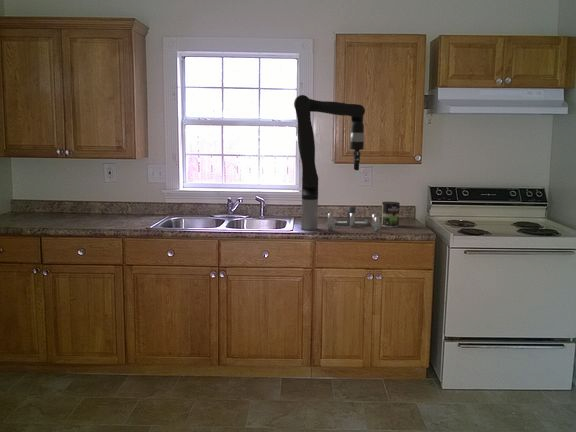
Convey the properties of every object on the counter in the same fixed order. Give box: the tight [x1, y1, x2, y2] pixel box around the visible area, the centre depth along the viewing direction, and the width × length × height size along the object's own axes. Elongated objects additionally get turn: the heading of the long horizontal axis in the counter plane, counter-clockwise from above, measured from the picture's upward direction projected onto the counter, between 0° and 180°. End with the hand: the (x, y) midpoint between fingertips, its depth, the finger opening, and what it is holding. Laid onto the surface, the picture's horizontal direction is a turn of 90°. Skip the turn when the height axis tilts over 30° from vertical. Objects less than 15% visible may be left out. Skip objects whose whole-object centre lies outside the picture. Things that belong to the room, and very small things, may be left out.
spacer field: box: [327, 212, 381, 233], centre depth 315 cm, size 29×18×8 cm, turn 87°
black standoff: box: [346, 206, 357, 223], centre depth 334 cm, size 5×5×10 cm
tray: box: [333, 218, 370, 227], centre depth 335 cm, size 20×18×2 cm
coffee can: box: [381, 201, 400, 228], centre depth 327 cm, size 10×10×14 cm
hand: (356, 169), depth 310 cm, fingers open, 8 cm apart
